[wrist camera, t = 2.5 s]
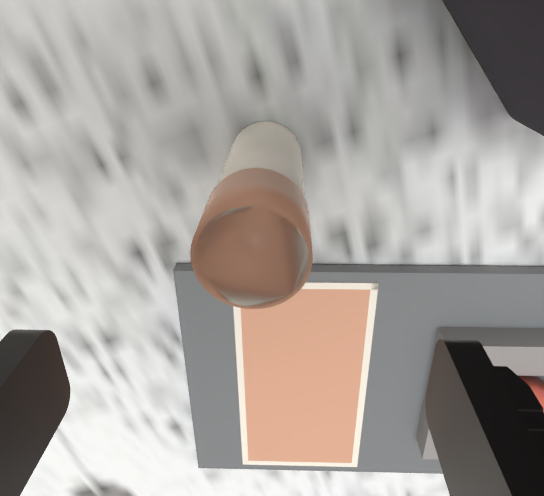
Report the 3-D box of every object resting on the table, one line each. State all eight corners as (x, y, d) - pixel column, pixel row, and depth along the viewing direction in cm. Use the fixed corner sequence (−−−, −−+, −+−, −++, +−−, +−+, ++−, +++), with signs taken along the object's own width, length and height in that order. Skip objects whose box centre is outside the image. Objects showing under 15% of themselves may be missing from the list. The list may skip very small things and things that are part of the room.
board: (200, 458, 33) (194, 489, 31) (176, 263, 26) (166, 287, 23) (544, 465, 32) (562, 498, 30) (625, 267, 25) (657, 292, 23)
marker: (231, 191, 23) (196, 308, 15) (226, 118, 22) (184, 202, 13) (302, 191, 23) (310, 310, 15) (304, 118, 22) (314, 202, 13)
